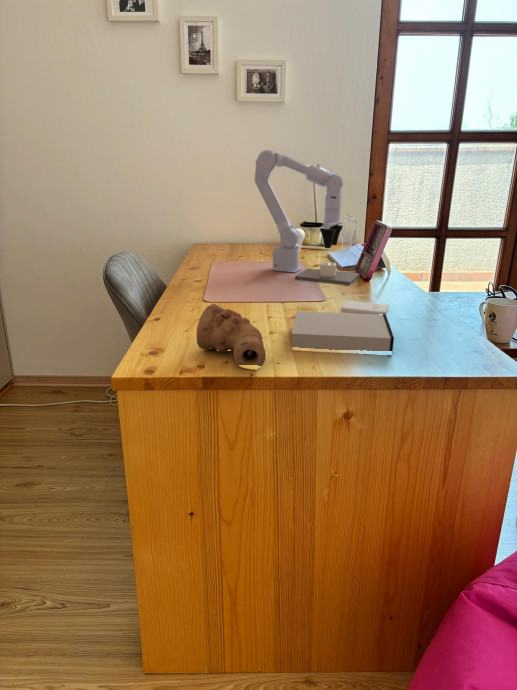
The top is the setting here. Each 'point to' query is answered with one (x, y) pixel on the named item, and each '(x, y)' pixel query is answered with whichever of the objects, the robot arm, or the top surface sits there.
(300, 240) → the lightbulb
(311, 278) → the steel tile with stud
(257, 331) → the clay pipe
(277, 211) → the robot arm
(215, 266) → the top surface
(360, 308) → the external hard drive
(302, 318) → the disc drive
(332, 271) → the ring
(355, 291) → the top surface
